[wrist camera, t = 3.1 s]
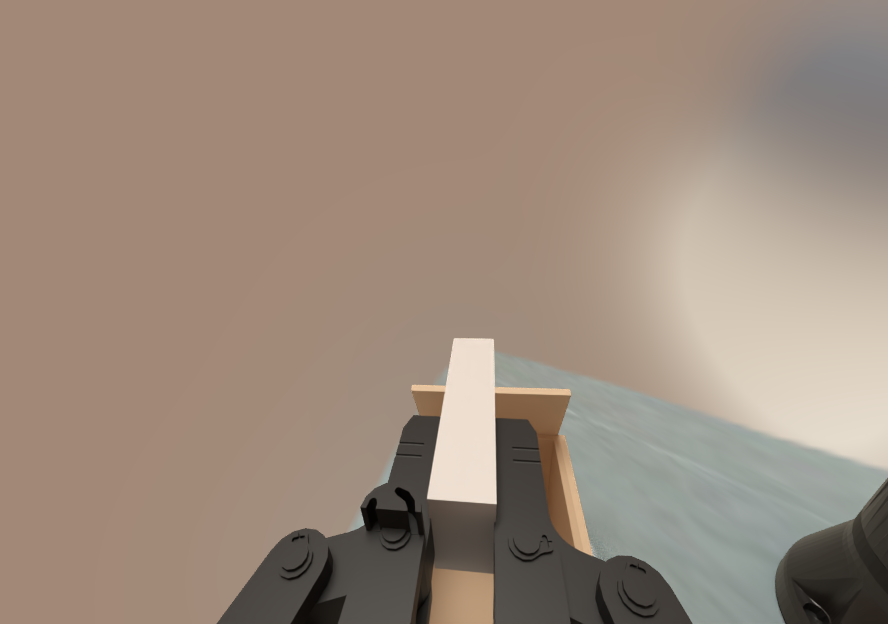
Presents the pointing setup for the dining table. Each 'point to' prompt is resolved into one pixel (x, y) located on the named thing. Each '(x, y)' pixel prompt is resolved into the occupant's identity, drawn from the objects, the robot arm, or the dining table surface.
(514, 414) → the flap
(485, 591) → the carton
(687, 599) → the dining table surface
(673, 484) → the dining table surface
